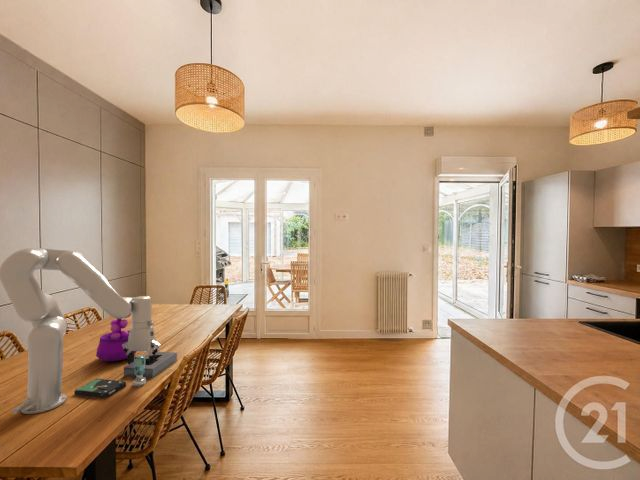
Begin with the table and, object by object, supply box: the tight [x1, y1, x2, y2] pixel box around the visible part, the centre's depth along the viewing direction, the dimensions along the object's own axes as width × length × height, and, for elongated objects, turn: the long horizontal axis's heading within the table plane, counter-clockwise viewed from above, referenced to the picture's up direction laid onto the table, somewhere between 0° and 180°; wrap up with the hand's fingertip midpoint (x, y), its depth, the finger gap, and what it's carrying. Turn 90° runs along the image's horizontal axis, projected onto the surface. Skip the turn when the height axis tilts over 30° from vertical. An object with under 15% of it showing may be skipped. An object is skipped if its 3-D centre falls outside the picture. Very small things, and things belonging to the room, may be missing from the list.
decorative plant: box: [95, 313, 138, 362], centre depth 154 cm, size 19×18×30 cm
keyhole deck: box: [123, 351, 178, 379], centre depth 143 cm, size 20×14×4 cm
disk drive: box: [73, 378, 127, 400], centre depth 121 cm, size 10×3×15 cm
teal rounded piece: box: [132, 355, 147, 388], centre depth 127 cm, size 5×5×12 cm
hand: (141, 363), depth 127 cm, fingers open, 9 cm apart
